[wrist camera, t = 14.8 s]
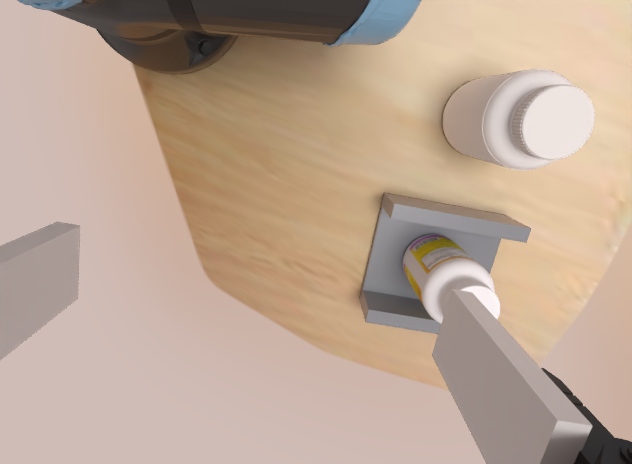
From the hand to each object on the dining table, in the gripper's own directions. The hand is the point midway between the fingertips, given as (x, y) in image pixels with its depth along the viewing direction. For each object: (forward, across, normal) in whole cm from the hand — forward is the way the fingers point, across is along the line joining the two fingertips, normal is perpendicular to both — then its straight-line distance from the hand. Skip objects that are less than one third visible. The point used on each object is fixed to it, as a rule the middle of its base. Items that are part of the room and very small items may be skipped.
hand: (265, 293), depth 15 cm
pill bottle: (+32, +18, +9) cm, 38 cm away
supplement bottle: (+31, +17, -7) cm, 36 cm away
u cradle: (+32, +17, -7) cm, 37 cm away
